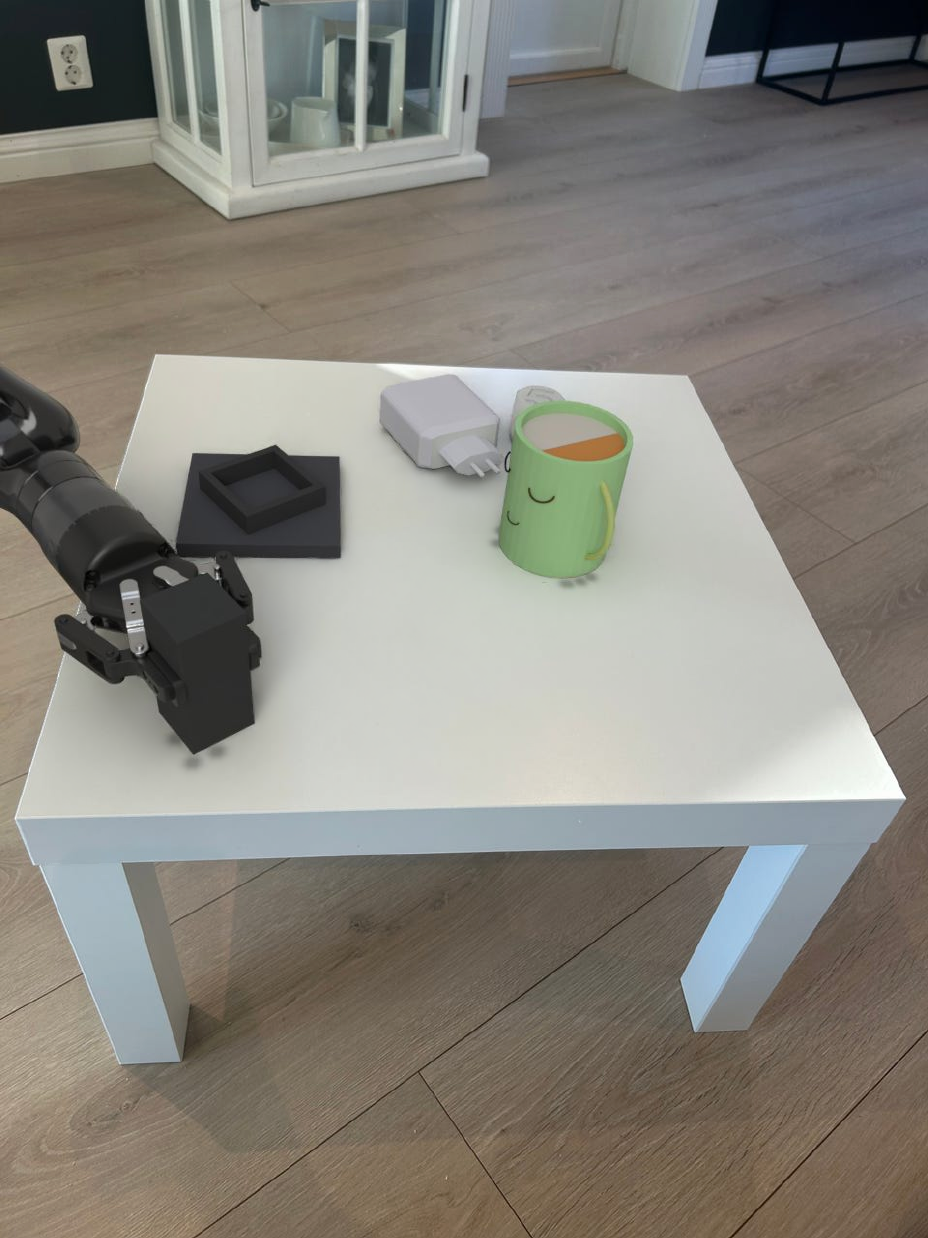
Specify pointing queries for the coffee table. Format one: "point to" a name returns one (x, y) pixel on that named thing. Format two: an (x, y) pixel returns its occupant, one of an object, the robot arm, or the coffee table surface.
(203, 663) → the tall black rectangular block
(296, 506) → the base pad
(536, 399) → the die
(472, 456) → the charger
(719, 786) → the coffee table surface
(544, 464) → the mug
